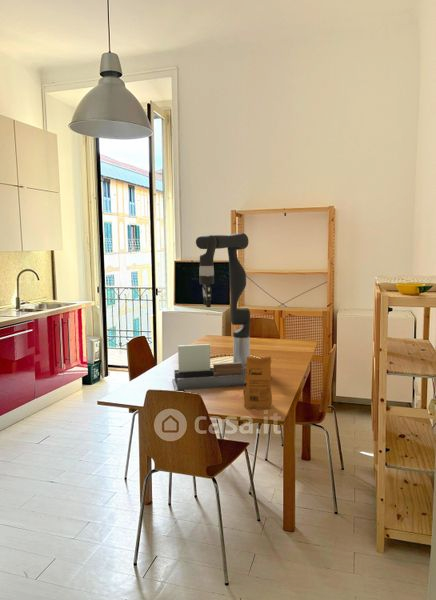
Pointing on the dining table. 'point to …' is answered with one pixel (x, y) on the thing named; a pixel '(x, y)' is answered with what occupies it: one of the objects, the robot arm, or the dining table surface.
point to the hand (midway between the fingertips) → (207, 305)
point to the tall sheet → (194, 357)
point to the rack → (205, 380)
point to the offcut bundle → (227, 369)
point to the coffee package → (258, 383)
